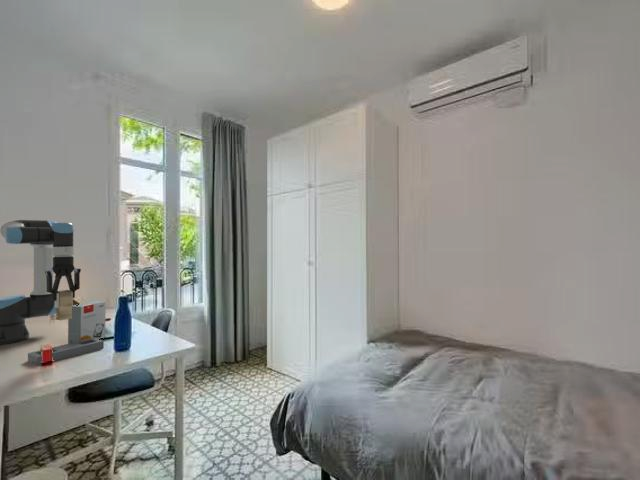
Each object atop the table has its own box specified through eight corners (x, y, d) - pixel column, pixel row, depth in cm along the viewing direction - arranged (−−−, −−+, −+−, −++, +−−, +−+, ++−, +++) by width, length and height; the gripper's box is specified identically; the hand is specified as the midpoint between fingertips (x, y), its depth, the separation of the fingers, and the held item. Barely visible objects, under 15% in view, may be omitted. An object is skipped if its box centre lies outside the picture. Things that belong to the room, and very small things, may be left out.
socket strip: (27, 361, 144) (27, 352, 144) (93, 344, 166) (93, 337, 166) (36, 365, 138) (36, 356, 138) (103, 348, 160) (103, 340, 160)
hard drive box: (79, 346, 163) (79, 306, 163) (67, 345, 164) (66, 306, 164) (106, 337, 178) (105, 301, 178) (94, 336, 180) (94, 300, 180)
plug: (55, 319, 150) (55, 291, 150) (67, 317, 154) (67, 289, 154) (60, 320, 148) (60, 291, 148) (72, 318, 152) (71, 290, 152)
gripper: (43, 257, 141) (43, 311, 141) (88, 255, 157) (89, 303, 157) (35, 256, 145) (36, 309, 145) (80, 255, 160) (81, 302, 160)
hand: (63, 306), depth 151 cm, fingers closed on plug, 5 cm apart
